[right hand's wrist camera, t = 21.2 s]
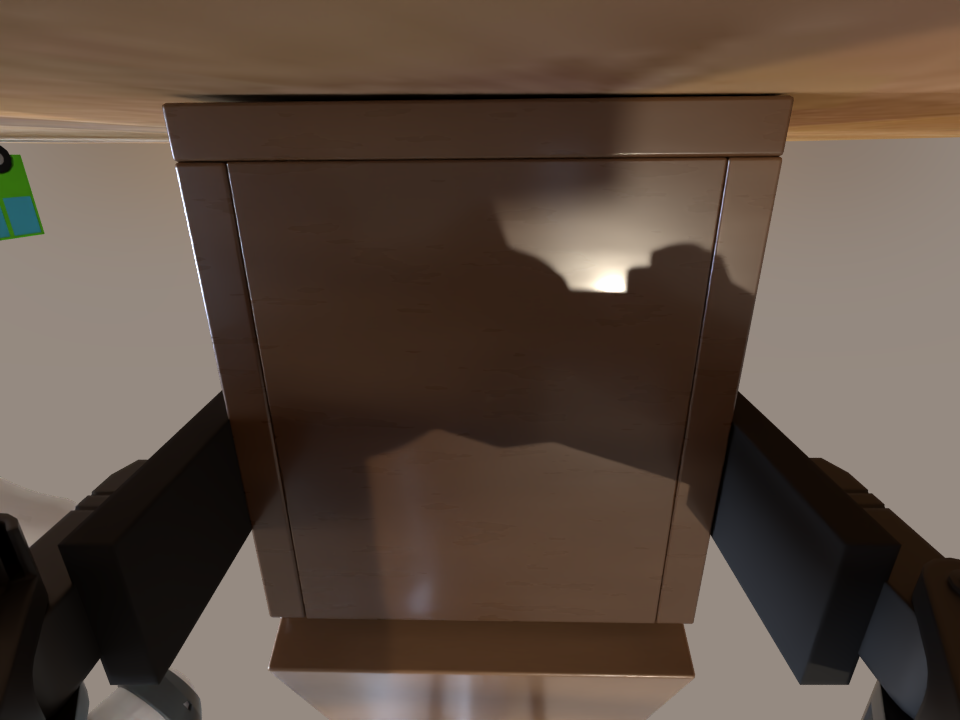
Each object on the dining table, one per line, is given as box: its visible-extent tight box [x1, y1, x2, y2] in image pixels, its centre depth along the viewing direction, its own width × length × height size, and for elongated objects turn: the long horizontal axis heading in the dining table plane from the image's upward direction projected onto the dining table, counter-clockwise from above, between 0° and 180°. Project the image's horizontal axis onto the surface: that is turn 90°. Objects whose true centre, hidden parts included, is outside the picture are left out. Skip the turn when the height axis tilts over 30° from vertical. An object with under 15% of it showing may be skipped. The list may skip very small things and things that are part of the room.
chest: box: [162, 96, 793, 624], centre depth 18 cm, size 17×10×11 cm, turn 1°
